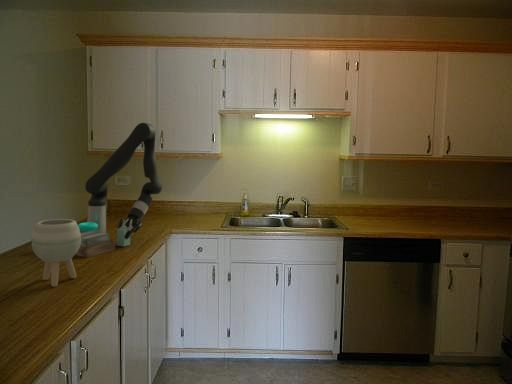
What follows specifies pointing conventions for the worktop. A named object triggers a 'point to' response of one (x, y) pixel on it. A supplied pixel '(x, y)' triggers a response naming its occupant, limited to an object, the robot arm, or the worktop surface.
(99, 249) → the brown truncated pyramid
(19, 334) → the worktop surface
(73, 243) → the planter
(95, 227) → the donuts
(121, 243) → the brick
